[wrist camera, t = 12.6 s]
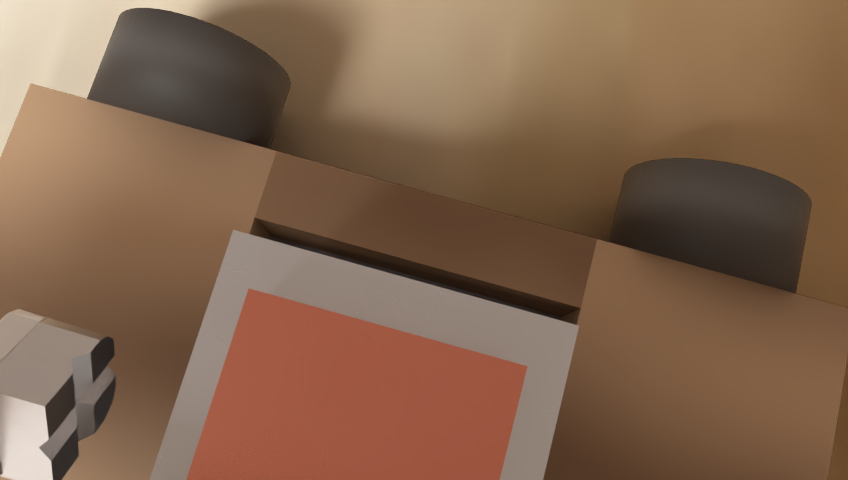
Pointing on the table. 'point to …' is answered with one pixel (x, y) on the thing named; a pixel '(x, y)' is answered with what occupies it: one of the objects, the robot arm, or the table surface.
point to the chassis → (414, 266)
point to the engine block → (360, 377)
